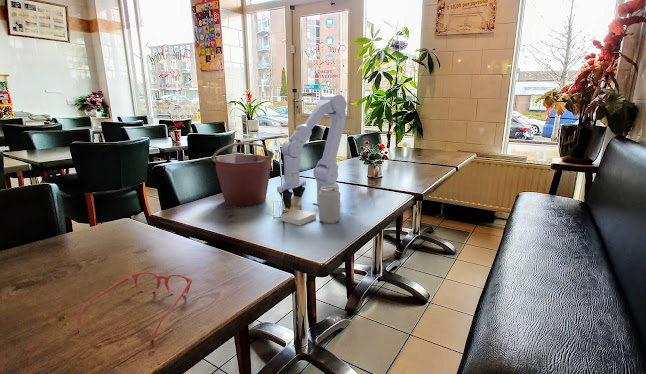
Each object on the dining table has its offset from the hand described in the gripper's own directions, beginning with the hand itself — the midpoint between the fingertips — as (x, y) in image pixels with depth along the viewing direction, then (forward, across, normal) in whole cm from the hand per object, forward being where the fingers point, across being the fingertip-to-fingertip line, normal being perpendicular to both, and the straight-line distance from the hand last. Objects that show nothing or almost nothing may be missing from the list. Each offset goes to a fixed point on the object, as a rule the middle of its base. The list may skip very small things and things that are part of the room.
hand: (292, 206), depth 136 cm
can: (+2, +1, +19) cm, 19 cm away
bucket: (+2, +4, -23) cm, 23 cm away
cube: (+2, 0, 0) cm, 2 cm away
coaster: (+1, +7, +9) cm, 11 cm away
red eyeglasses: (+2, +69, +20) cm, 72 cm away
